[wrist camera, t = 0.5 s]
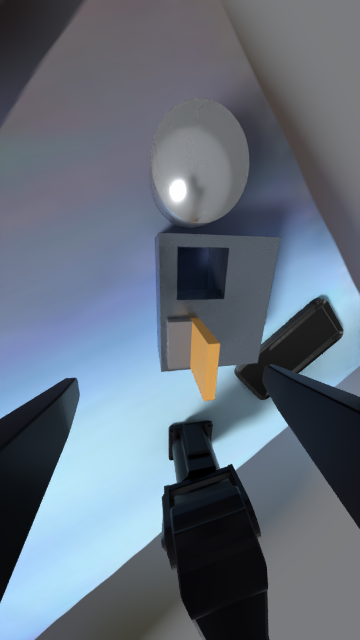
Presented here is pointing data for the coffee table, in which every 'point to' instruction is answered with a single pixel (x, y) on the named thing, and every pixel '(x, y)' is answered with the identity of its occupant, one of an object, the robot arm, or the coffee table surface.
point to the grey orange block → (194, 352)
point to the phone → (293, 345)
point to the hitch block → (218, 292)
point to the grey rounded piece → (198, 163)
